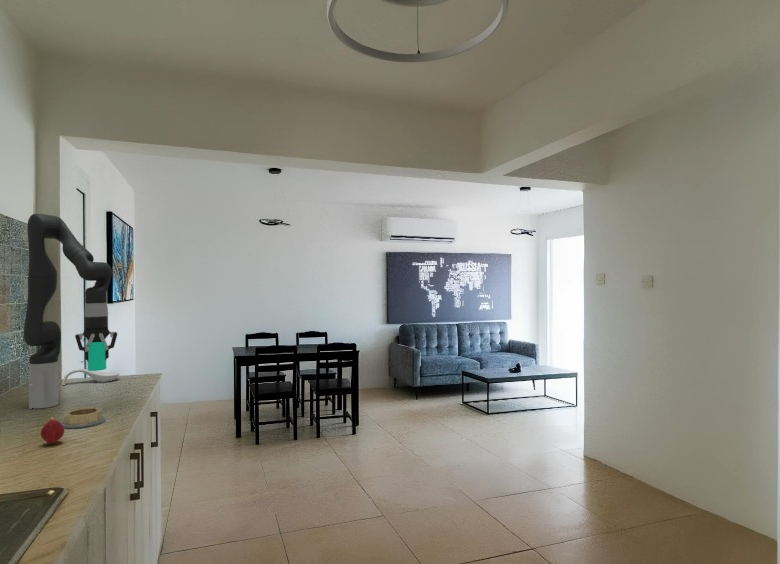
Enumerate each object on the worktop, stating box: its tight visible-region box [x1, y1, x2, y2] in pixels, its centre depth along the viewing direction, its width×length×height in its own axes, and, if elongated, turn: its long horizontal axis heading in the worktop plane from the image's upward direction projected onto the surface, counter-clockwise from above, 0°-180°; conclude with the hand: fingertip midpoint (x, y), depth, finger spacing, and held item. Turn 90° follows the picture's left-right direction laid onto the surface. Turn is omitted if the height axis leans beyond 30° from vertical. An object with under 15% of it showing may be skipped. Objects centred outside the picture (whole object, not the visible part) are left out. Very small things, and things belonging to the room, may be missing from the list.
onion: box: [40, 416, 65, 445], centre depth 148 cm, size 6×6×8 cm
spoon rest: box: [61, 368, 120, 386], centre depth 237 cm, size 24×12×7 cm, turn 124°
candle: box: [86, 341, 107, 372], centre depth 183 cm, size 6×6×12 cm
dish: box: [60, 415, 106, 430], centre depth 169 cm, size 13×13×1 cm
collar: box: [63, 407, 103, 425], centre depth 169 cm, size 11×11×3 cm
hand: (96, 360), depth 183 cm, fingers closed on candle, 5 cm apart
